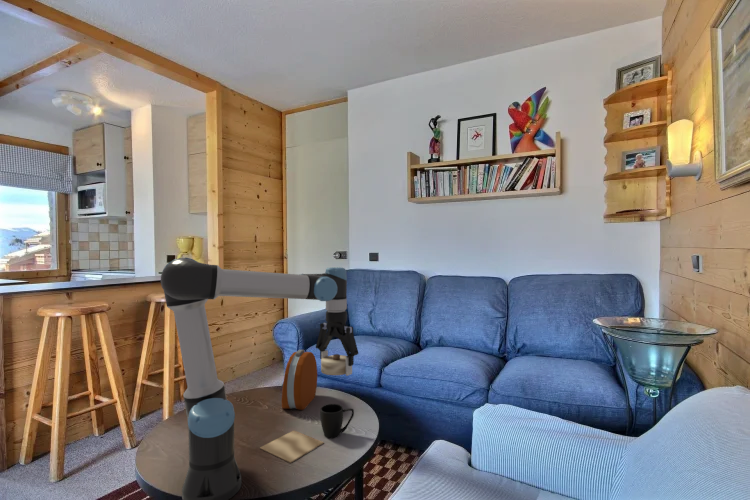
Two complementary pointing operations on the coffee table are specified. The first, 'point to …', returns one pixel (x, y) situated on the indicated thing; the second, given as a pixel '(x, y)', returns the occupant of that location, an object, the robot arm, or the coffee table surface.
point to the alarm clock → (299, 380)
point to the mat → (291, 446)
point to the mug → (333, 419)
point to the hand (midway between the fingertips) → (336, 371)
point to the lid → (333, 365)
